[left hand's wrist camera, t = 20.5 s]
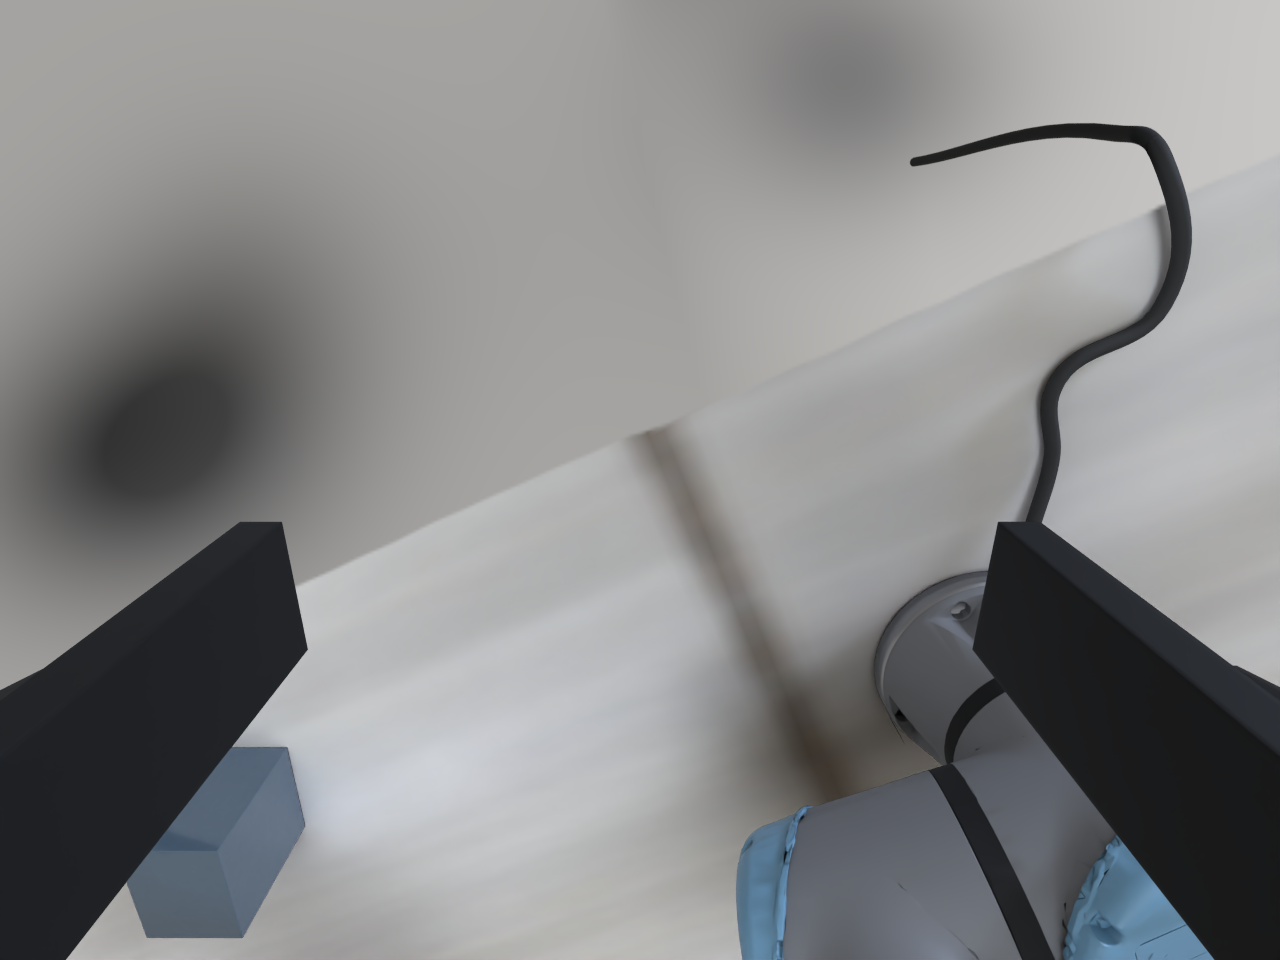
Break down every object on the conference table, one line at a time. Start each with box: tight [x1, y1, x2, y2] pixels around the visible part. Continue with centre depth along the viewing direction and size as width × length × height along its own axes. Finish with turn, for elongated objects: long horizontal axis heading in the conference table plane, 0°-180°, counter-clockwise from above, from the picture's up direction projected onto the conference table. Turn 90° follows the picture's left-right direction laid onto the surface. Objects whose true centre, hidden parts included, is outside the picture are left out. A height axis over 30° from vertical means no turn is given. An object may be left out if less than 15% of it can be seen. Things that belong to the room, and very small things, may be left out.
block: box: [127, 748, 305, 938], centre depth 52 cm, size 7×8×10 cm
